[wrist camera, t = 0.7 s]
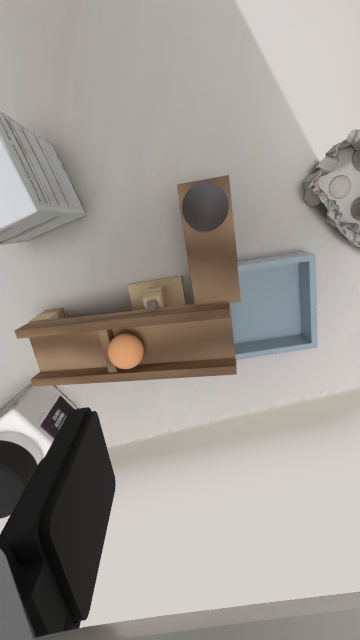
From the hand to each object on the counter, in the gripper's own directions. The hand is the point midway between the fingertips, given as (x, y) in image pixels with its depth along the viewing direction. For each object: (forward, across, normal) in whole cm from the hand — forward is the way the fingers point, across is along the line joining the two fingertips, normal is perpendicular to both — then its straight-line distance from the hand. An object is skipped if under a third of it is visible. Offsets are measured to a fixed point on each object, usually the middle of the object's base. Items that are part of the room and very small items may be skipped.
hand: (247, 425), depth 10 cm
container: (+26, +21, +15) cm, 37 cm away
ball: (+18, +7, +4) cm, 20 cm away
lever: (+20, +7, 0) cm, 21 cm away
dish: (+27, -7, +5) cm, 28 cm away
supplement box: (+27, +15, -10) cm, 32 cm away
